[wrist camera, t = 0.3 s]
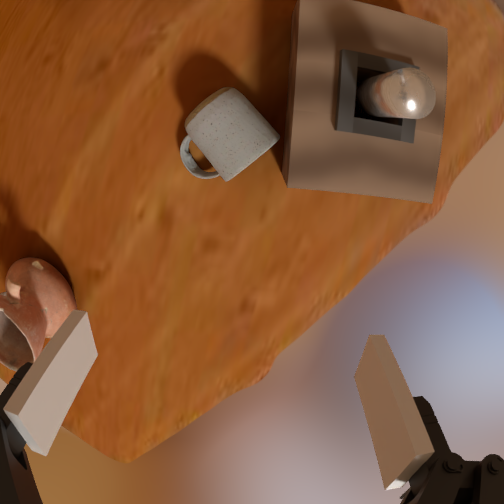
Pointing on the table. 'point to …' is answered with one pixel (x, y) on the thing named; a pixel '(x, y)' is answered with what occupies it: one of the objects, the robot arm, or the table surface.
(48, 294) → the ceramic jug
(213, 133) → the ceramic mug
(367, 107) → the peg
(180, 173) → the table surface
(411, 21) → the socket block
